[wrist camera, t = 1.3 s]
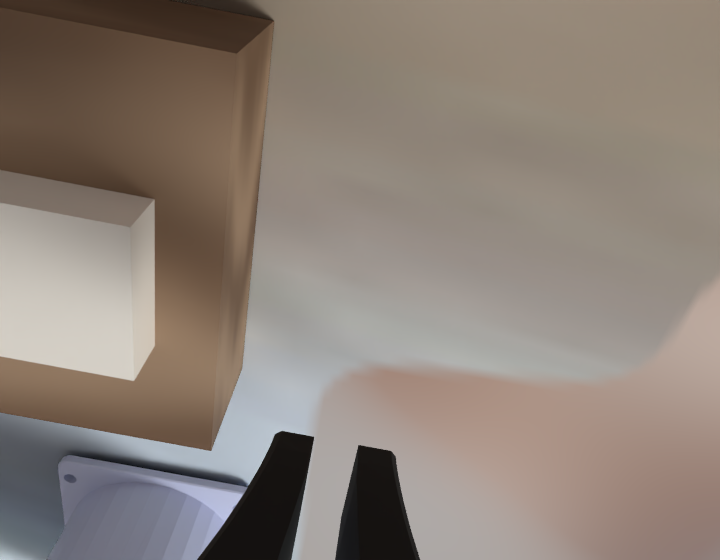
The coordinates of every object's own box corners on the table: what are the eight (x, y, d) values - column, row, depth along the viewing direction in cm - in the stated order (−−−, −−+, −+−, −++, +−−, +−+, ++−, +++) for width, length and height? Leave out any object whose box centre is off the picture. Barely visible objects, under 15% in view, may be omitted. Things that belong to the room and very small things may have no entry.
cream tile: (154, 345, 18) (134, 381, 16) (-7, 315, 18) (-41, 348, 16) (154, 199, 15) (130, 227, 14) (-32, 163, 15) (-74, 188, 14)
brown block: (242, 368, 23) (211, 450, 20) (-116, 302, 23) (-211, 374, 19) (274, 20, 17) (236, 53, 13) (-220, -77, 16) (-387, -68, 13)
